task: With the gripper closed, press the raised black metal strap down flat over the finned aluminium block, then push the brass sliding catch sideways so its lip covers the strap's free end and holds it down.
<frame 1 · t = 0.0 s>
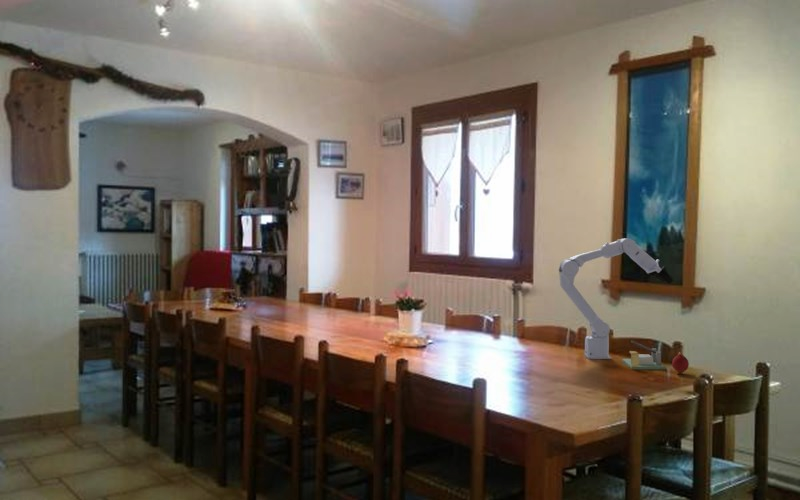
hand: (668, 280, 280), 32 cm above the table, tool tilted 50°, fingers open, 7 cm apart
onion: (680, 374, 255), on the table
hinged clamp fixture: (643, 365, 269), on the table
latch: (633, 358, 264), point 4 cm above the table, slide at 0.0 cm
strap: (644, 347, 268), point 7 cm above the table, hinge at 25.0°
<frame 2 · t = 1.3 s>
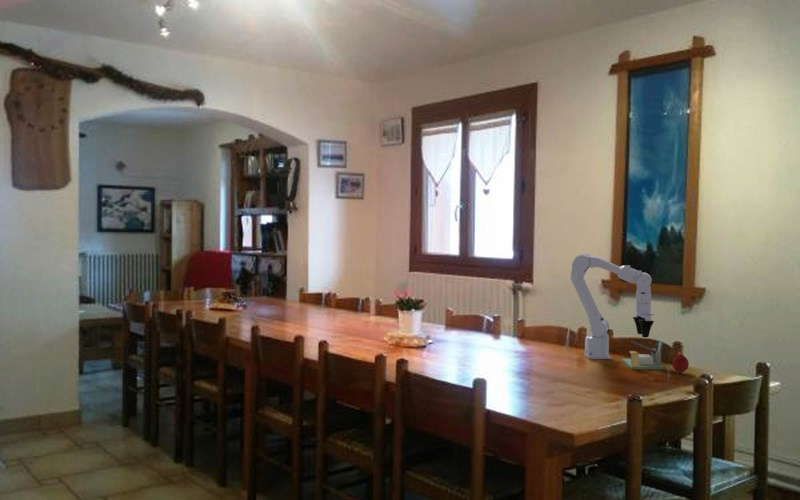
hand: (642, 335, 276), 10 cm above the table, tool pointing down, fingers open, 6 cm apart
nothing on the table moved.
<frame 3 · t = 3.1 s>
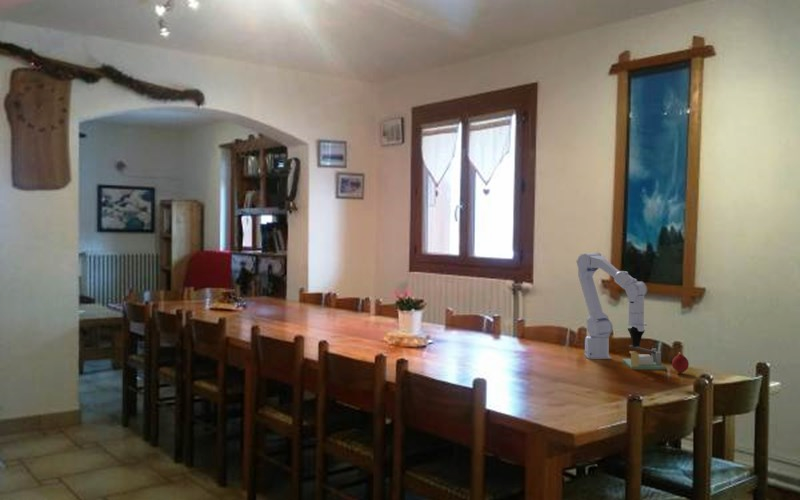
hand: (635, 346, 268), 8 cm above the table, tool pointing down, fingers closed, pressing on strap
strap: (643, 349, 268), point 6 cm above the table, hinge at 14.4°, touching gripper
everything else where it was.
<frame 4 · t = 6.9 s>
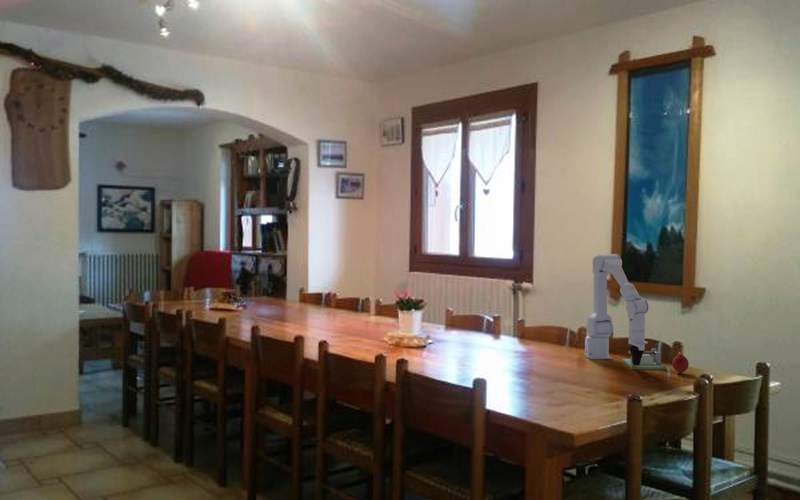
hand: (636, 365, 261), 2 cm above the table, tool pointing down, fingers closed
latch: (633, 358, 264), point 4 cm above the table, slide at 0.5 cm, touching gripper
strap: (643, 352, 268), point 5 cm above the table, hinge at 1.1°
everything else where it was.
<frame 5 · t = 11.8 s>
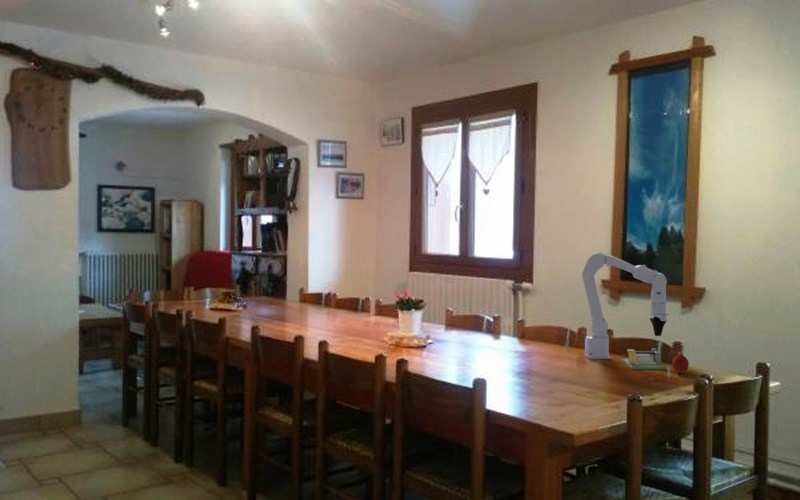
hand: (657, 335, 275), 10 cm above the table, tool pointing down, fingers closed
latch: (631, 356, 267), point 4 cm above the table, slide at 3.6 cm
everything else where it was.
at the end: strap at +1° (first picture: +25°); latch slide at 3.6 cm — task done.
